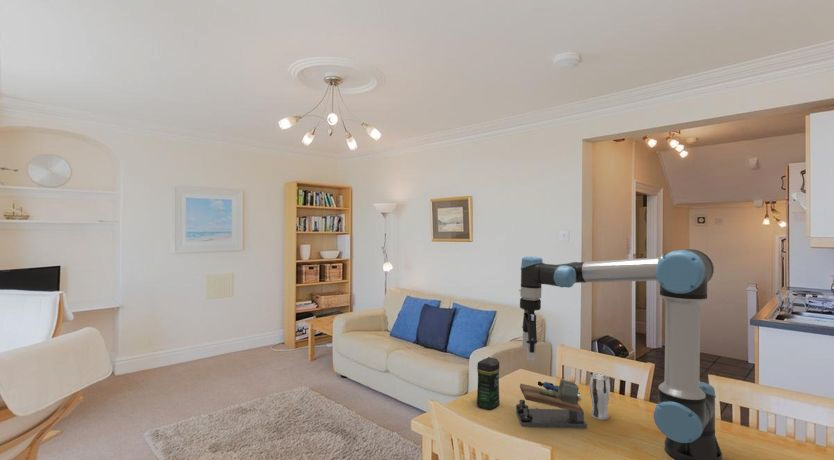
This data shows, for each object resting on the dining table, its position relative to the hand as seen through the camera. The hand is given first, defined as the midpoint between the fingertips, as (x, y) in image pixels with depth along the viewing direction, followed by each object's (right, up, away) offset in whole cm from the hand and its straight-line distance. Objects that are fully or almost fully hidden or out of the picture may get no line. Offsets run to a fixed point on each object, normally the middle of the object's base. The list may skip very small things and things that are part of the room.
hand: (528, 354), depth 157 cm
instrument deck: (+8, -16, -1) cm, 18 cm away
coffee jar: (-13, -24, +13) cm, 30 cm away
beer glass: (+28, -24, +2) cm, 37 cm away
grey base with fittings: (+8, -24, -1) cm, 25 cm away
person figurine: (+19, -25, +22) cm, 38 cm away
